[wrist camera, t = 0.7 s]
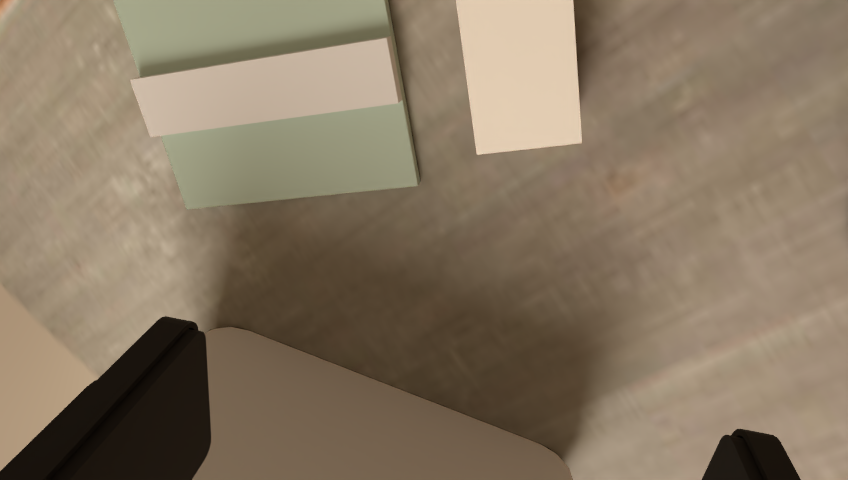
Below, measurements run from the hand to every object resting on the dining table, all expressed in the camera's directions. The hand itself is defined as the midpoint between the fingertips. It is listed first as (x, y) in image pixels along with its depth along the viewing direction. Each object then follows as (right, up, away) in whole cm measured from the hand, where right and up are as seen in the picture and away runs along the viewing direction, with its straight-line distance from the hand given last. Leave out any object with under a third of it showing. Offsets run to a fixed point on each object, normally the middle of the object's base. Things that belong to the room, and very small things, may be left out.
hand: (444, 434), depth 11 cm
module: (+5, +14, +21) cm, 26 cm away
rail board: (-10, +13, +25) cm, 29 cm away
